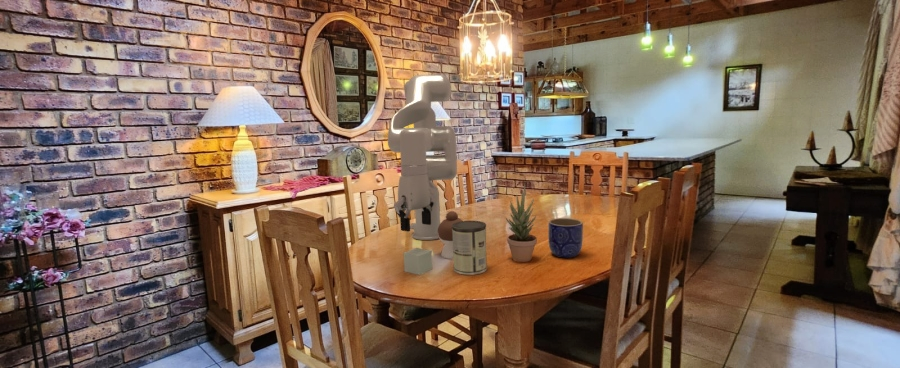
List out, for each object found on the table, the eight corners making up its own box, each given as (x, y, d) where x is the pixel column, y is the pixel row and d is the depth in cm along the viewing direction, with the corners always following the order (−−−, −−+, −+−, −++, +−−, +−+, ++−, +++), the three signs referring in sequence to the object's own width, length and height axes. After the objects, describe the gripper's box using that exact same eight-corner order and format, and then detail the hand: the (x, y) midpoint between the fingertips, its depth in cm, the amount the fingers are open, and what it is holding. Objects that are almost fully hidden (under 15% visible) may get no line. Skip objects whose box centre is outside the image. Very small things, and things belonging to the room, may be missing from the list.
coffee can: (459, 262, 145) (457, 219, 143) (490, 265, 142) (489, 221, 139) (448, 273, 135) (447, 227, 133) (481, 276, 132) (480, 229, 130)
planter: (546, 250, 155) (546, 218, 153) (578, 249, 154) (578, 217, 153) (551, 260, 144) (551, 226, 143) (586, 259, 144) (586, 225, 142)
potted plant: (530, 265, 140) (530, 186, 136) (502, 261, 145) (501, 185, 141) (542, 256, 148) (542, 182, 144) (515, 252, 153) (514, 180, 149)
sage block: (404, 271, 138) (403, 252, 137) (417, 266, 143) (416, 247, 142) (419, 275, 135) (418, 255, 134) (432, 269, 140) (431, 250, 139)
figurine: (438, 259, 148) (437, 215, 146) (438, 251, 158) (436, 209, 155) (468, 258, 149) (467, 213, 147) (466, 249, 158) (464, 207, 156)
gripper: (423, 167, 143) (425, 220, 146) (384, 173, 129) (387, 232, 132) (441, 168, 139) (443, 223, 141) (403, 174, 125) (406, 235, 127)
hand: (416, 227), depth 136 cm, fingers open, 9 cm apart
